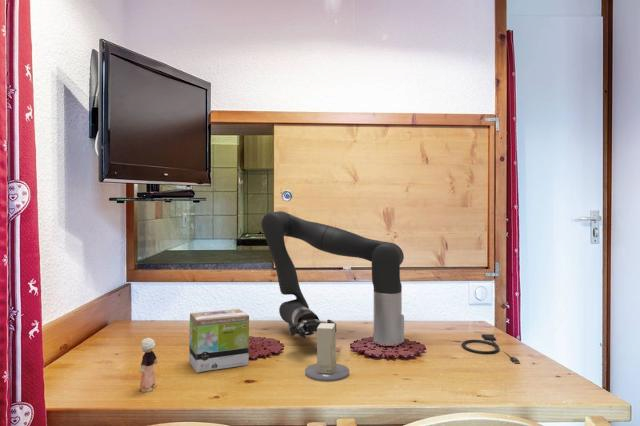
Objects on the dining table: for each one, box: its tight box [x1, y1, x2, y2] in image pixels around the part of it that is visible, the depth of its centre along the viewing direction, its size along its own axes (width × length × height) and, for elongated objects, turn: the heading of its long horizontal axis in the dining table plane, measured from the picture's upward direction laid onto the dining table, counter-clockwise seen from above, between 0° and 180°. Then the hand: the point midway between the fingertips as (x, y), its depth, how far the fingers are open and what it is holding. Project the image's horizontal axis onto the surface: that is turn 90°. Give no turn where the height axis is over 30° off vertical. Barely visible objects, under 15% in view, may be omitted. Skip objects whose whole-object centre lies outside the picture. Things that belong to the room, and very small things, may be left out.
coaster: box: [304, 362, 350, 382], centre depth 125 cm, size 12×12×1 cm
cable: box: [461, 333, 521, 365], centre depth 147 cm, size 14×28×2 cm, turn 175°
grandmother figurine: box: [139, 337, 158, 393], centre depth 114 cm, size 8×4×13 cm, turn 5°
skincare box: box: [316, 322, 337, 374], centre depth 125 cm, size 6×4×12 cm
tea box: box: [188, 308, 250, 374], centre depth 132 cm, size 15×10×15 cm, turn 118°
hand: (318, 333), depth 134 cm, fingers open, 8 cm apart
